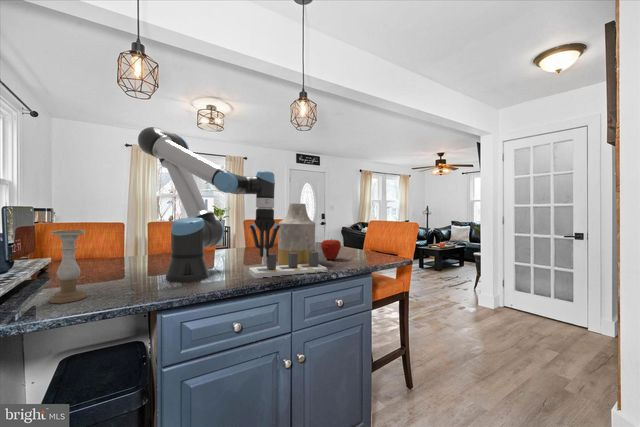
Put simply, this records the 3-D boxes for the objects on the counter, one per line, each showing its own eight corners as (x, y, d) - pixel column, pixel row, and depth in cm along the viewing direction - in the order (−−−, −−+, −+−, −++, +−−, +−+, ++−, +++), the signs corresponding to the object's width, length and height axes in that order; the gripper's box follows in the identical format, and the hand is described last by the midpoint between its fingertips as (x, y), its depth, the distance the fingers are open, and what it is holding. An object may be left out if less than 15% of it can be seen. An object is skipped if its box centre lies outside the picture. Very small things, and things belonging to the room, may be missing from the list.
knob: (312, 266, 132) (312, 252, 132) (309, 264, 136) (309, 251, 135) (318, 265, 134) (318, 252, 133) (315, 264, 137) (315, 251, 137)
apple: (331, 257, 170) (332, 236, 170) (344, 260, 162) (345, 238, 162) (316, 259, 163) (317, 237, 163) (329, 262, 155) (330, 239, 155)
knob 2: (290, 267, 128) (291, 253, 128) (288, 266, 131) (288, 252, 131) (297, 267, 129) (297, 253, 129) (294, 265, 133) (294, 252, 133)
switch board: (254, 278, 117) (254, 272, 117) (248, 272, 128) (248, 266, 128) (327, 272, 131) (327, 267, 131) (316, 267, 142) (316, 262, 142)
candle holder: (44, 299, 87) (44, 230, 87) (81, 293, 94) (81, 229, 94) (54, 305, 82) (54, 232, 82) (92, 298, 89) (92, 231, 89)
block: (269, 269, 124) (269, 254, 124) (266, 267, 127) (267, 253, 127) (275, 268, 125) (276, 254, 125) (273, 267, 129) (273, 253, 128)
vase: (308, 268, 138) (309, 203, 137) (271, 266, 143) (272, 202, 142) (318, 262, 156) (319, 204, 155) (286, 259, 160) (287, 203, 160)
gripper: (251, 208, 118) (250, 267, 119) (282, 208, 124) (281, 265, 124) (248, 208, 125) (247, 263, 125) (277, 208, 130) (276, 262, 131)
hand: (263, 264), depth 125 cm, fingers closed
